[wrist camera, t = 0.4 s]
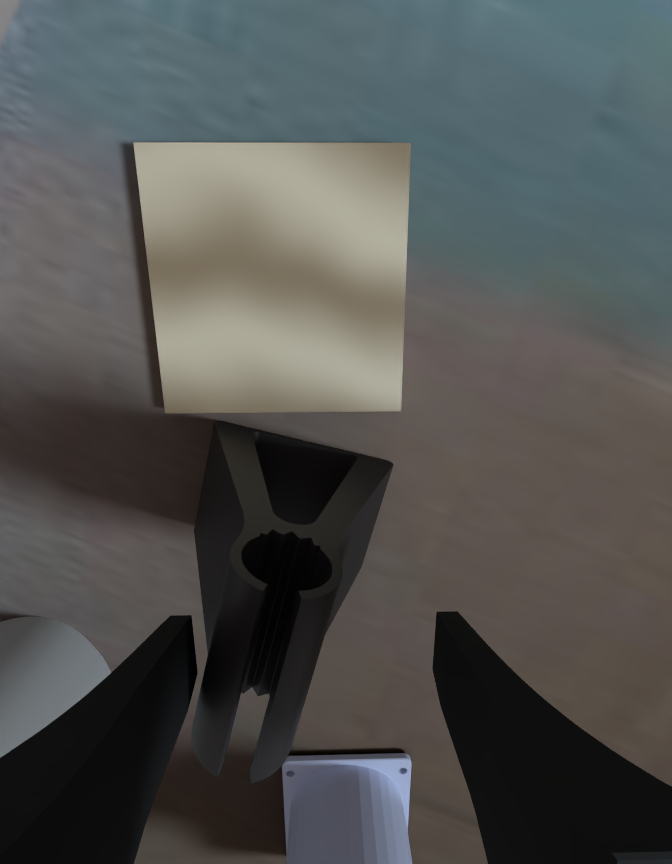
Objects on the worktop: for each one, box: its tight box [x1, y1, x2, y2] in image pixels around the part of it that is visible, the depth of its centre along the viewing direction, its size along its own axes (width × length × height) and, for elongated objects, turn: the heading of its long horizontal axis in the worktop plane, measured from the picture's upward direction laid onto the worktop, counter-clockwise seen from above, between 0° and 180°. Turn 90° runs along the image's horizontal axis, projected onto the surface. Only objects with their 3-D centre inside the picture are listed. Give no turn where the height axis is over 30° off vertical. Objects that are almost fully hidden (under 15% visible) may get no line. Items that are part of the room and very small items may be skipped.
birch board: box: [133, 142, 411, 413], centre depth 19 cm, size 11×11×1 cm
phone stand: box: [192, 421, 393, 783], centre depth 16 cm, size 9×6×12 cm, turn 75°
